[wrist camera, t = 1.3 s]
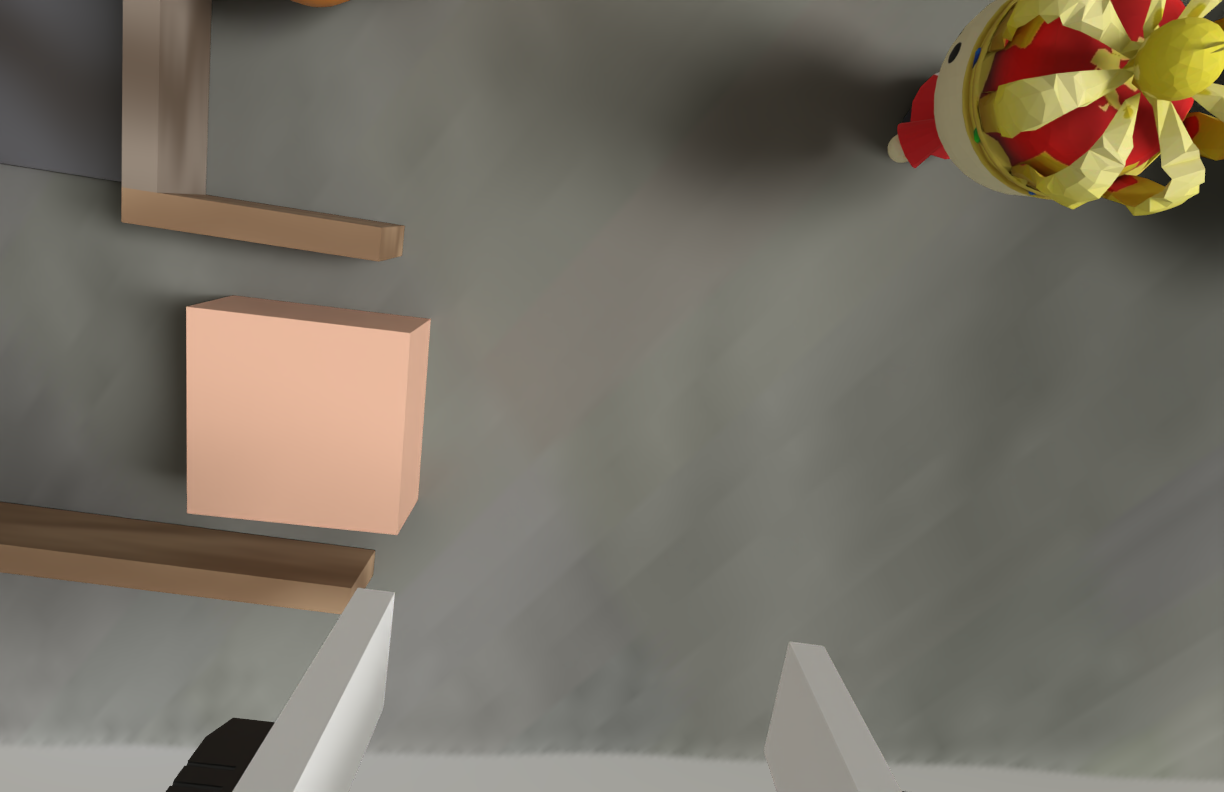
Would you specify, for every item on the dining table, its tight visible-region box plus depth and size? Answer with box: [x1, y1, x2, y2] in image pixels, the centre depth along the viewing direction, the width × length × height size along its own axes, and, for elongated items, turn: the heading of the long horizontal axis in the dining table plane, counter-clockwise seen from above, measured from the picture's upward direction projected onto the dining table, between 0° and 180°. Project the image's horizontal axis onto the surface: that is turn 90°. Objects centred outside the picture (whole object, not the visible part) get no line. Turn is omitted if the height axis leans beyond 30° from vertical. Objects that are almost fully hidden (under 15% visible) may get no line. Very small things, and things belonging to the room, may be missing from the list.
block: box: [186, 295, 431, 535], centre depth 31 cm, size 8×8×4 cm
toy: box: [888, 0, 1224, 216], centre depth 23 cm, size 7×7×15 cm
